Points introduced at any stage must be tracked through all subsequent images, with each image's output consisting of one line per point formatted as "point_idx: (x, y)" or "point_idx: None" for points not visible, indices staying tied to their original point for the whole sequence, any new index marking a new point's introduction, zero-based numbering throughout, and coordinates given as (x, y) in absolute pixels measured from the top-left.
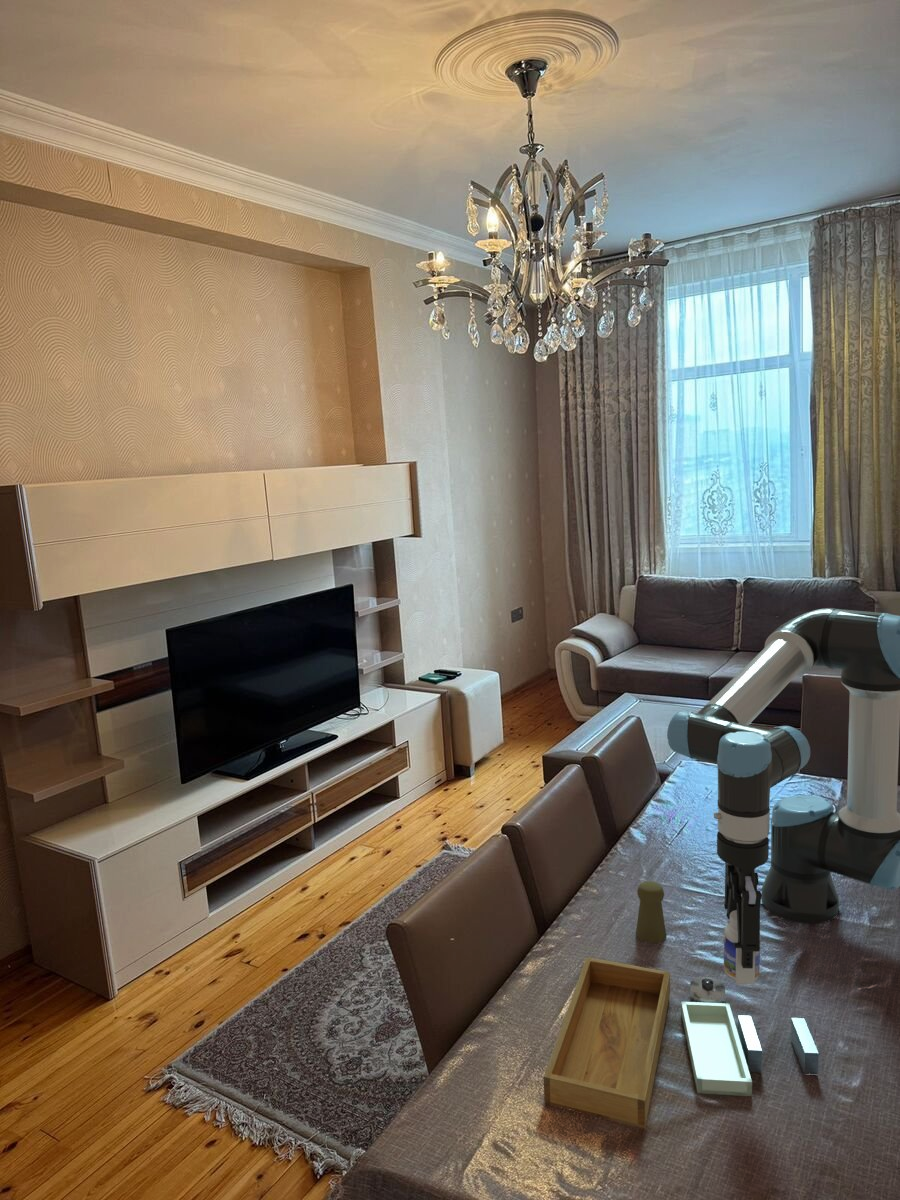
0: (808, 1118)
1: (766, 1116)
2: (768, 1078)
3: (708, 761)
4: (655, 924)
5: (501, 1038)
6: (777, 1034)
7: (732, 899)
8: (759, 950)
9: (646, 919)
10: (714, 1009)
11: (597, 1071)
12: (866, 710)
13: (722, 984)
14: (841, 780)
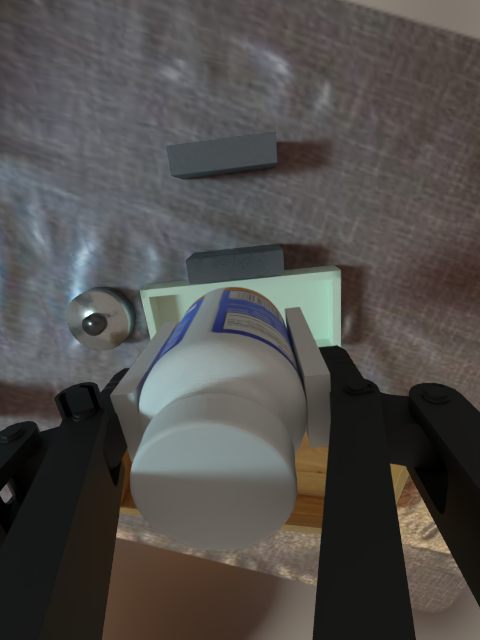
0: (375, 177)
1: (374, 246)
2: (289, 233)
3: None
4: None
5: (263, 548)
6: (173, 203)
7: (100, 601)
8: (455, 390)
9: None
10: (155, 313)
11: (314, 461)
12: None
13: (80, 296)
14: None
